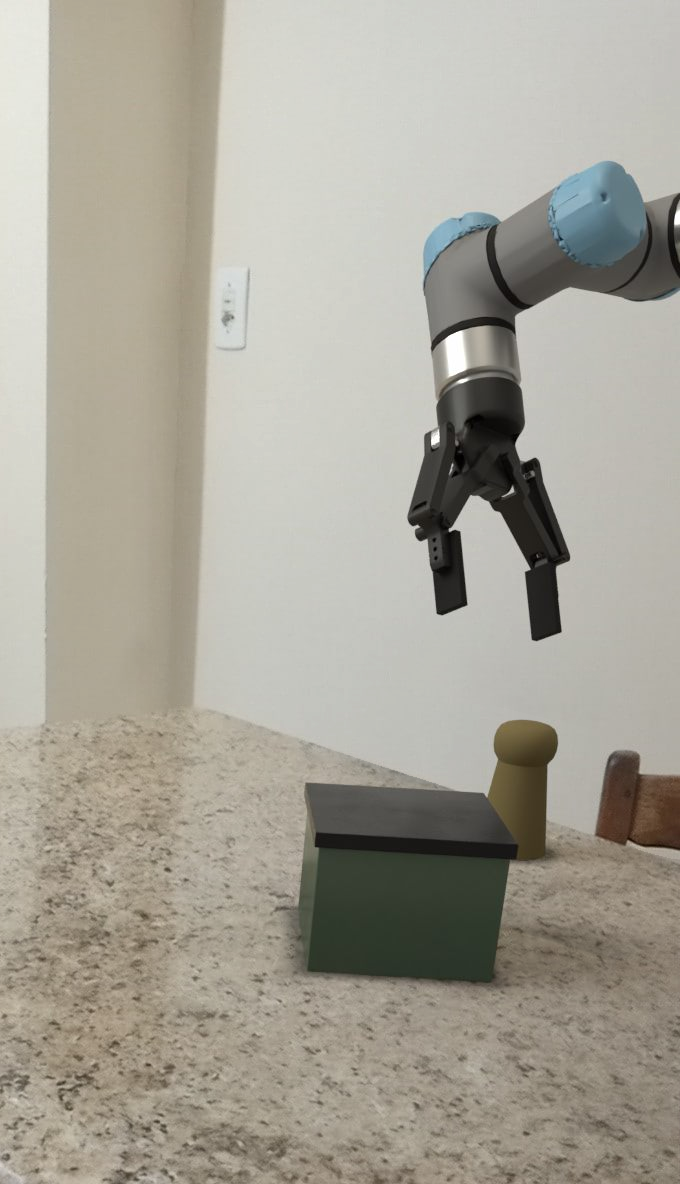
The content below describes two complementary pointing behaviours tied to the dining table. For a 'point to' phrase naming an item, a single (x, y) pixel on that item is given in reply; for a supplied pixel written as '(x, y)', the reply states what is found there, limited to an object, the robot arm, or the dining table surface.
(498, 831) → the bin
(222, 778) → the dining table surface
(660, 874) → the dining table surface
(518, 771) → the cork
